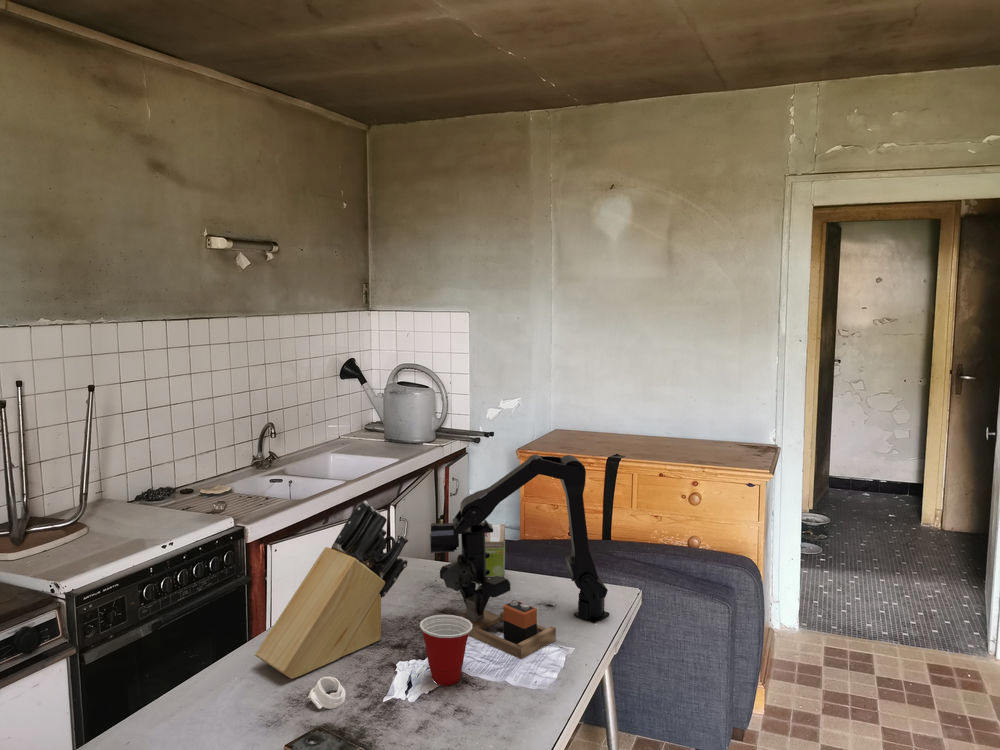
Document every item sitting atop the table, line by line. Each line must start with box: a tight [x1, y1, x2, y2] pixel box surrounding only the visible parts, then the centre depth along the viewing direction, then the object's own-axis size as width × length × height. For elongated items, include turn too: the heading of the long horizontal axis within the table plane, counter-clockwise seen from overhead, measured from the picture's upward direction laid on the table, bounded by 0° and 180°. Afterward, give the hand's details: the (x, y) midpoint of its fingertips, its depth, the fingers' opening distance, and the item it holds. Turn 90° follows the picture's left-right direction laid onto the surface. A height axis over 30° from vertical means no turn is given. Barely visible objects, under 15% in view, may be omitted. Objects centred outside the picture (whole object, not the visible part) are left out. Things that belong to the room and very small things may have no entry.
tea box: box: [475, 523, 506, 590], centre depth 205 cm, size 15×10×15 cm
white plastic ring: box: [305, 676, 346, 710], centre depth 148 cm, size 8×7×5 cm
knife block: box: [254, 500, 409, 680], centre depth 169 cm, size 11×35×31 cm, turn 138°
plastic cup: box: [419, 614, 472, 687], centre depth 156 cm, size 11×11×12 cm
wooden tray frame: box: [458, 595, 557, 660], centre depth 176 cm, size 12×24×6 cm, turn 46°
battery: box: [502, 599, 538, 644], centre depth 170 cm, size 4×7×10 cm, turn 45°
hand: (474, 613), depth 182 cm, fingers closed on wooden tray frame, 3 cm apart
